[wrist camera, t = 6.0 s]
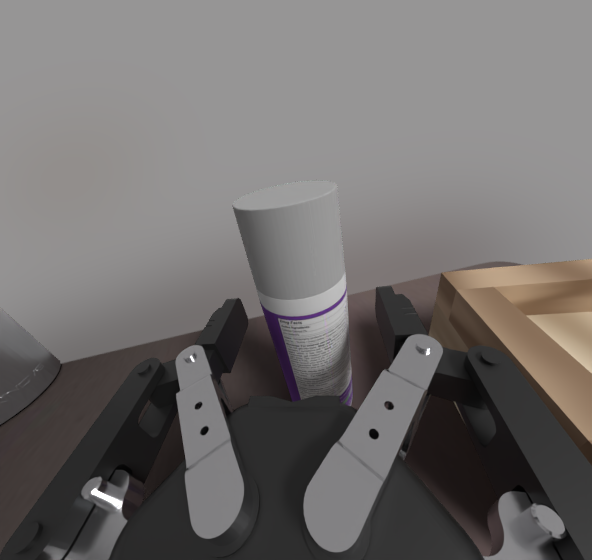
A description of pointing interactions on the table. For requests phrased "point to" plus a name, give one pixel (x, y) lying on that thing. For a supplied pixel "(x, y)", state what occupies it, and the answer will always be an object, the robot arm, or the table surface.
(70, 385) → the table surface
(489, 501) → the table surface
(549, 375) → the wooden open tray
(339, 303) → the container
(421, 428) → the table surface
